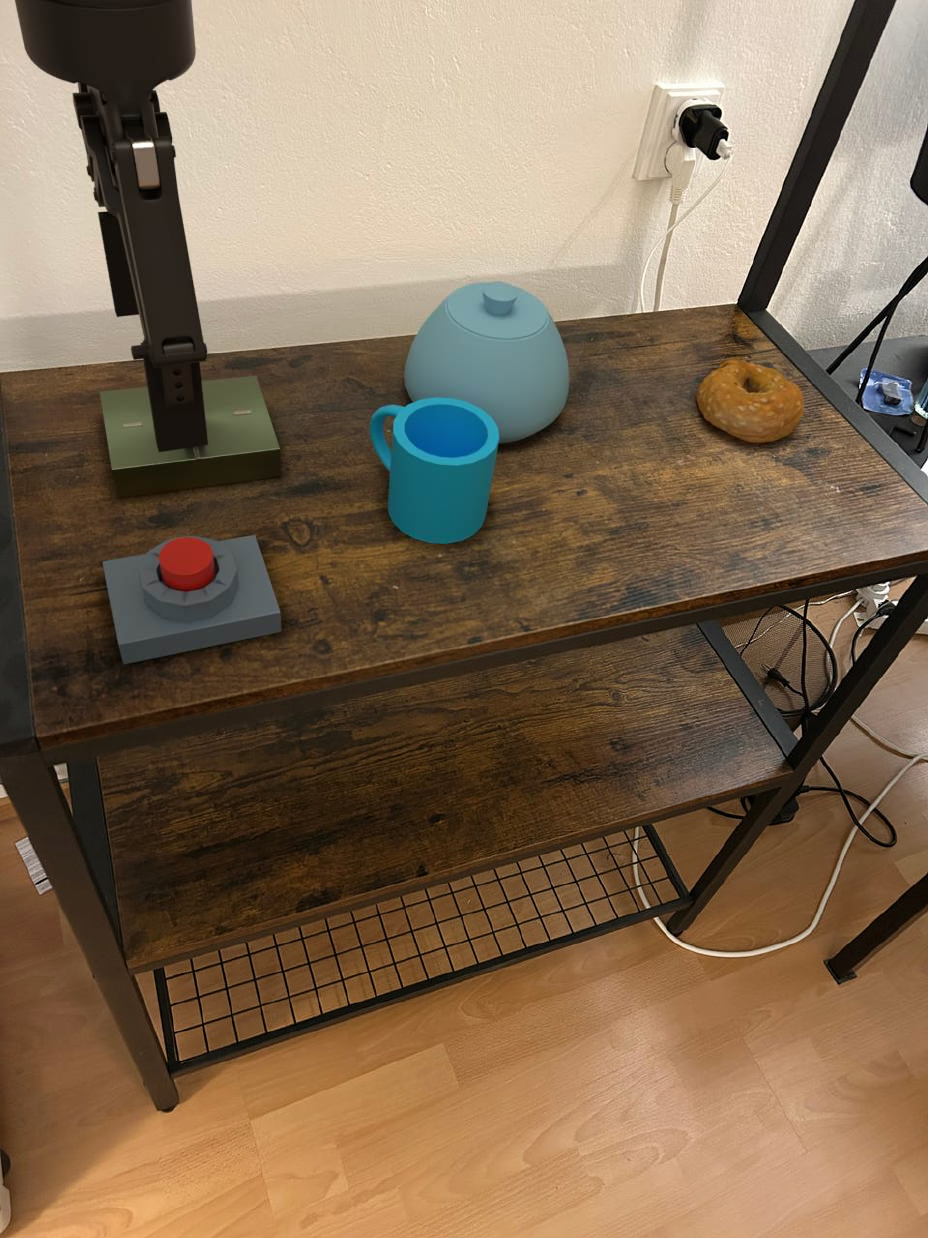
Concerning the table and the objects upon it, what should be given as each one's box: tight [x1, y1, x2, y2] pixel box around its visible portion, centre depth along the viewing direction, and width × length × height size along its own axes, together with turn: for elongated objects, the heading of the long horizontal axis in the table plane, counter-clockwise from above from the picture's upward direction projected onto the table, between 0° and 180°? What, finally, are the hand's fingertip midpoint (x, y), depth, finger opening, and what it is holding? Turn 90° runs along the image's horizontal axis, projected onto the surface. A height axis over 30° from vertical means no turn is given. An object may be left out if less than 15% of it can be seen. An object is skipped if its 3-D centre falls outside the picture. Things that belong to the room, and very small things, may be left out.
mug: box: [369, 397, 499, 545], centre depth 78 cm, size 12×8×8 cm
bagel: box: [696, 358, 805, 444], centre depth 92 cm, size 10×11×5 cm
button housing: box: [101, 534, 283, 665], centre depth 69 cm, size 11×8×4 cm
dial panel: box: [98, 375, 282, 499], centre depth 80 cm, size 13×10×3 cm
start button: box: [159, 536, 215, 592], centre depth 67 cm, size 4×4×2 cm
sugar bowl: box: [403, 280, 570, 445], centre depth 86 cm, size 15×15×12 cm
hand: (158, 374), depth 58 cm, fingers open, 13 cm apart
